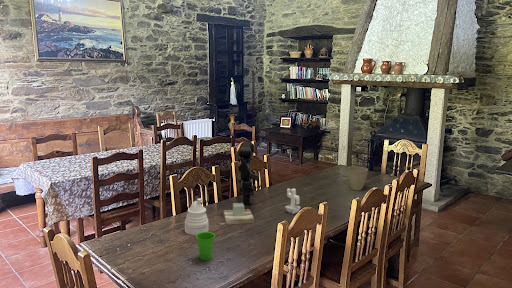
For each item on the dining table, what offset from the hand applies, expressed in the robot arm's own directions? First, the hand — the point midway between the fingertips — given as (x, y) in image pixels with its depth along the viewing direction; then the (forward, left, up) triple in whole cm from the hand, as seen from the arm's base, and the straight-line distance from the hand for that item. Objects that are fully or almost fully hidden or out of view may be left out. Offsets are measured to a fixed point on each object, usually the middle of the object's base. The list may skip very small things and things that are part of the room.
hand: (244, 193), depth 239 cm
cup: (+57, -27, -12) cm, 64 cm away
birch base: (+10, -5, -12) cm, 16 cm away
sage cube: (+10, -5, -10) cm, 15 cm away
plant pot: (-38, +92, -12) cm, 100 cm away
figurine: (+4, +30, -12) cm, 33 cm away
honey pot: (+24, -30, -12) cm, 40 cm away
